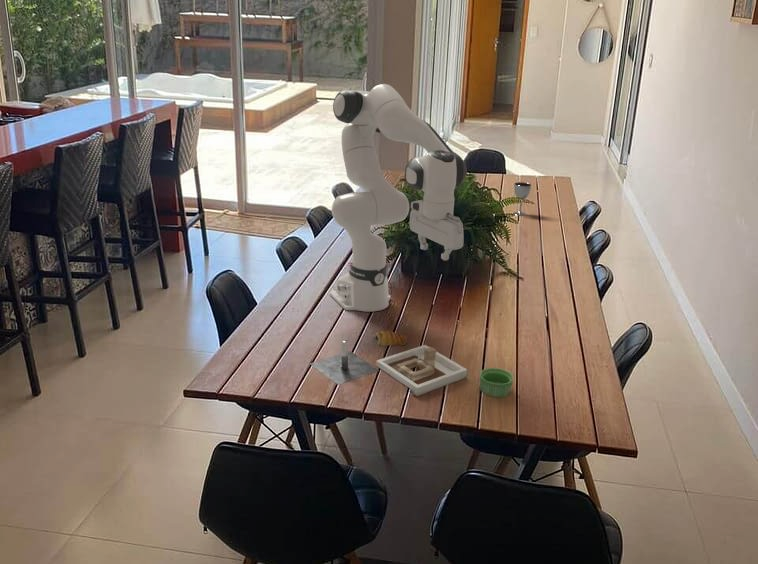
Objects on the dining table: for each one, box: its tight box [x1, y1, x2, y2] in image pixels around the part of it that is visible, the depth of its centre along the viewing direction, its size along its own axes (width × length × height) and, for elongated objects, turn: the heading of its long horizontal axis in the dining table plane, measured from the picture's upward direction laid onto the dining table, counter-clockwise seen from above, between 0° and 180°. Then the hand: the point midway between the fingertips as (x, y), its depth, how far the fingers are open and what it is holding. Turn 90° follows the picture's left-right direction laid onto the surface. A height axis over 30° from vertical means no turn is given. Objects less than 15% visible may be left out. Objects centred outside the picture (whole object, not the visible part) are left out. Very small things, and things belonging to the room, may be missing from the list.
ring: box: [395, 346, 437, 382], centre depth 196 cm, size 8×10×6 cm
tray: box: [375, 344, 468, 397], centre depth 197 cm, size 18×18×2 cm
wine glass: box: [512, 181, 532, 217], centre depth 349 cm, size 8×8×15 cm
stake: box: [309, 339, 380, 386], centre depth 196 cm, size 14×14×9 cm
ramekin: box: [479, 367, 515, 398], centre depth 190 cm, size 9×9×4 cm
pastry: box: [374, 330, 407, 347], centre depth 214 cm, size 9×7×4 cm
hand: (434, 254), depth 207 cm, fingers open, 8 cm apart
